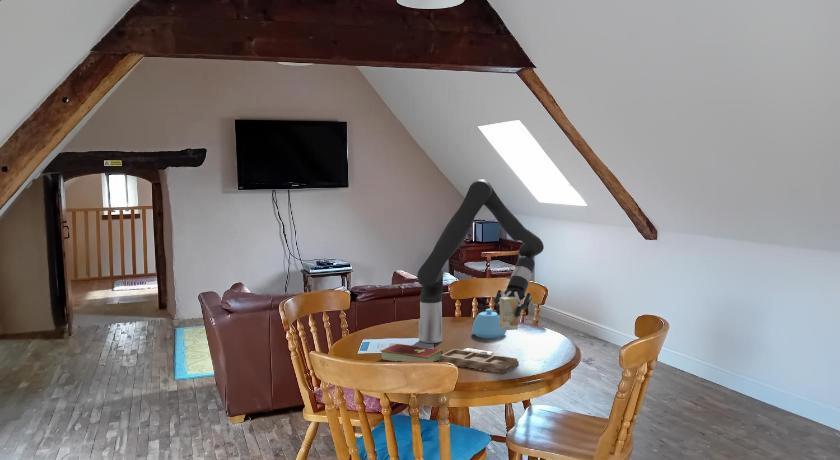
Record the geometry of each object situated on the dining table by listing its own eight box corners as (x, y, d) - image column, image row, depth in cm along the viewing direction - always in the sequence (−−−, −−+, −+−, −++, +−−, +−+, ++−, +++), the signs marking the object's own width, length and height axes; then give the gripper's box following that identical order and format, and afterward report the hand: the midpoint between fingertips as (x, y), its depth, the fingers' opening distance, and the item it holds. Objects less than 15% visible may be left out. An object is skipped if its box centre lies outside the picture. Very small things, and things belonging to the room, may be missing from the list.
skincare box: (503, 331, 243) (503, 299, 242) (498, 328, 247) (498, 297, 246) (518, 329, 245) (518, 298, 244) (514, 327, 249) (514, 296, 248)
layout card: (458, 353, 254) (458, 351, 254) (467, 349, 260) (467, 347, 260) (485, 357, 247) (485, 355, 247) (493, 353, 253) (493, 351, 253)
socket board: (438, 363, 242) (438, 356, 241) (455, 354, 252) (455, 348, 252) (503, 374, 227) (503, 366, 226) (518, 364, 238) (518, 357, 237)
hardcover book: (397, 352, 259) (396, 342, 258) (442, 359, 248) (442, 348, 248) (380, 360, 248) (380, 349, 248) (427, 367, 238) (427, 356, 237)
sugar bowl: (508, 339, 275) (508, 312, 274) (473, 339, 275) (473, 313, 274) (504, 330, 290) (504, 305, 289) (471, 331, 290) (470, 306, 289)
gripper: (500, 273, 254) (487, 307, 246) (533, 276, 246) (521, 311, 238) (506, 284, 259) (493, 318, 251) (539, 287, 251) (527, 322, 243)
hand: (507, 315), depth 244 cm, fingers closed on skincare box, 7 cm apart
